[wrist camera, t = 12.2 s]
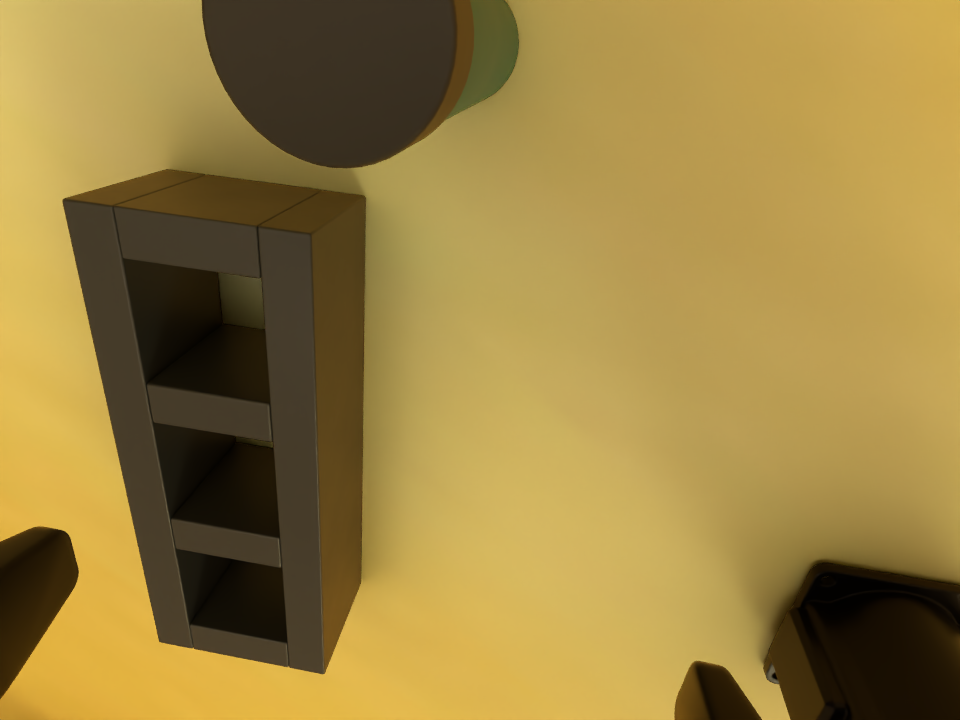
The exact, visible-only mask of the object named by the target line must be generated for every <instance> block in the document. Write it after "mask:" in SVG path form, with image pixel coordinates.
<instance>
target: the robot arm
mask: <svg viewBox="0 0 960 720" xmlns="http://www.w3.org/2000/svg"><path fill="white" fill-rule="evenodd" d="M78 573H79V571H78V566H77V562H76V558H75V554H74V551H73V547H72V543H71V539H70V537H69V535H68V534H67V533H66V532H65V531H62V530H58V529H53V528H48V527H34V528H31V529H28V530H26V531H24V532H22V533H19V534H17V535H15V536H12V537H10V538H8V539H6V540H3V541H1V542H0V699H1V698H2V696H3V695H4V694H5V692H6V691H7V690H8V688H9V687H10V685H11V684H12V682H13V681H14V679H15V678H16V676H17V675H18V674H19V672H20V671H21V669H22V667H23V666H24V664H25V663H26V661H27V660H28V658H29V657H30V655H31V654H32V652H33V651H34V649H35V647H36V646H37V644H38V643H39V641H40V640H41V638H42V637H43V635H44V634H45V632H46V631H47V629H48V627H49V626H50V624H51V623H52V621H53V620H54V618H55V617H56V615H57V614H58V612H59V610H60V609H61V607H62V606H63V604H64V603H65V601H66V600H67V598H68V597H69V595H70V594H71V592H72V590H73V589H74V587H75V585H76V582H77V579H78ZM825 576H828V577H826V578H823V577H825ZM763 669H764V672H765V675H766V678H767V680H769V681H770V682H772V683H775V684H779V685H780V688H781V691H782V694H783V697H784V701H785V704H786V707H787V710H788V713H789V716H790V719H791V720H960V586H959V585H953V584H947V583H941V582H935V581H929V580H924V579H918V578H912V577H906V576H900V575H894V574H889V573H883V572H877V571H871V570H865V569H859V568H853V567H848V566H842V565H836V564H830V563H821V564H817V565H816V566H814V567H813V568H812V569H811V570H810V572H809V574H808V576H807V578H806V580H805V582H804V584H803V586H802V588H801V590H800V592H799V594H798V596H797V598H796V600H795V602H794V604H793V606H792V608H790V609H789V610H788V611H787V614H786V616H785V618H784V620H783V622H782V624H781V626H780V628H779V630H778V632H777V634H776V636H775V638H774V640H773V642H772V644H771V646H770V648H769V655H768V657H767V659H766V661H765V663H764V667H763ZM675 720H762V719H761V717H760V716H759V715H758V713H757V712H756V710H755V709H754V707H753V706H752V704H751V703H750V701H749V700H748V699H747V697H746V696H745V694H744V693H743V691H742V690H741V688H740V687H739V685H738V684H737V683H736V681H735V680H734V678H733V677H732V675H731V674H730V673H729V671H728V670H727V669H726V668H724V667H723V666H720V665H716V664H711V663H706V662H701V661H695V662H693V663H692V664H691V666H690V667H689V670H688V672H687V674H686V677H685V679H684V682H683V684H682V686H681V689H680V691H679V693H678V696H677V699H676V703H675Z"/></svg>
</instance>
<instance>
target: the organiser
mask: <svg viewBox="0 0 960 720" xmlns="http://www.w3.org/2000/svg"><path fill="white" fill-rule="evenodd" d="M63 206H64V210H65V215H66V220H67V224H68V229H69V233H70V238H71V242H72V247H73V251H74V256H75V261H76V265H77V270H78V274H79V279H80V283H81V288H82V292H83V297H84V302H85V306H86V311H87V315H88V320H89V324H90V329H91V333H92V338H93V342H94V347H95V352H96V356H97V361H98V365H99V370H100V374H101V379H102V383H103V388H104V393H105V397H106V402H107V406H108V411H109V415H110V420H111V424H112V429H113V434H114V438H115V443H116V447H117V452H118V456H119V461H120V465H121V470H122V475H123V479H124V484H125V488H126V493H127V497H128V502H129V506H130V511H131V516H132V520H133V525H134V529H135V534H136V538H137V543H138V547H139V552H140V557H141V561H142V566H143V570H144V575H145V579H146V584H147V588H148V593H149V598H150V602H151V607H152V611H153V616H154V620H155V625H156V629H157V634H158V638H159V642H162V643H167V644H172V645H177V646H182V647H187V648H194V649H198V650H203V651H208V652H213V653H218V654H223V655H228V656H233V657H238V658H243V659H248V660H254V661H259V662H264V663H269V664H274V665H279V666H284V667H288V666H289V667H290V668H294V669H299V670H304V671H309V672H314V673H319V674H324V673H325V672H326V669H327V667H328V664H329V662H330V659H331V657H332V654H333V652H334V649H335V647H336V644H337V642H338V639H339V636H340V634H341V631H342V629H343V626H344V624H345V621H346V619H347V616H348V614H349V611H350V609H351V606H352V604H353V601H354V599H355V596H356V594H357V591H358V589H359V586H360V584H361V537H362V454H363V372H364V289H365V206H366V198H365V196H362V195H355V194H347V193H340V192H332V191H325V190H324V191H322V190H318V189H311V188H303V187H296V186H288V185H281V184H274V183H266V182H259V181H251V180H244V179H236V178H229V177H221V176H214V175H205V174H198V173H191V172H183V171H176V170H168V169H166V170H162V171H159V172H155V173H152V174H148V175H145V176H141V177H138V178H134V179H131V180H127V181H124V182H120V183H117V184H113V185H110V186H106V187H103V188H99V189H96V190H92V191H89V192H85V193H82V194H78V195H75V196H71V197H68V198H64V199H63ZM217 272H220V273H227V274H234V275H240V276H247V277H254V278H261V279H262V293H263V307H264V321H265V330H260V329H254V328H247V327H240V326H234V325H227V324H224V325H223V323H222V314H221V305H220V295H219V286H218V277H217ZM235 436H238V437H244V438H250V439H256V440H262V441H268V442H272V441H273V446H274V449H271V448H265V447H259V446H253V445H247V444H241V443H236V444H235Z"/></svg>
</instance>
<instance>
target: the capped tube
mask: <svg viewBox="0 0 960 720" xmlns="http://www.w3.org/2000/svg"><path fill="white" fill-rule="evenodd" d="M202 16H203V24H204V30H205V37H206V41H207V45H208V48H209V52H210V56H211V59H212V61H213V64H214V67H215V69H216V72H217V74H218V76H219V78H220V80H221V82H222V84H223V86H224V88H225V90H226V92H227V93H228V95H229V97H230V98H231V100H232V101H233V103H234V105H235V106H236V107H237V109H238V110H239V111H240V112H241V114H242V115H243V116H244V118H245V119H246V120H247V121H248V122H249V123H250V124H251V125H252V126H253V127H254V128H255V129H256V130H257V131H258V132H259V133H260V134H261V135H263V136H264V137H265V138H266V139H267V140H269V141H270V142H271V143H272V144H274V145H276V146H277V147H279V148H280V149H282V150H283V151H285V152H286V153H288V154H291V155H293V156H295V157H297V158H299V159H301V160H304V161H307V162H310V163H313V164H316V165H321V166H326V167H332V168H356V167H363V166H368V165H372V164H376V163H378V162H381V161H384V160H386V159H389V158H391V157H392V156H394V155H396V154H398V153H399V152H401V151H403V150H405V149H406V148H408V147H410V146H412V145H413V144H415V143H417V142H419V141H420V140H422V139H424V138H425V137H427V136H428V135H429V134H430V133H432V132H433V131H434V130H436V129H437V128H438V127H439V126H440V124H441V123H442V122H443V121H444V120H446V119H448V118H450V117H452V116H454V115H455V114H457V113H459V112H461V111H463V110H465V109H467V108H469V107H471V106H473V105H475V104H477V103H478V102H480V101H482V100H484V99H486V98H488V97H490V96H491V95H493V94H494V93H495V92H497V91H498V90H499V89H500V88H501V87H502V86H503V85H504V83H505V82H506V81H507V80H508V78H509V76H510V74H511V73H512V70H513V68H514V66H515V62H516V59H517V54H518V45H519V39H518V30H517V25H516V22H515V18H514V16H513V14H512V11H511V9H510V8H509V6H508V4H507V3H506V2H505V0H202Z"/></svg>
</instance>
